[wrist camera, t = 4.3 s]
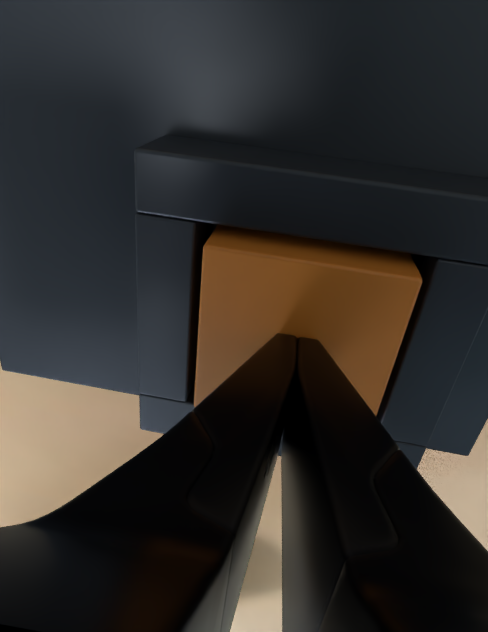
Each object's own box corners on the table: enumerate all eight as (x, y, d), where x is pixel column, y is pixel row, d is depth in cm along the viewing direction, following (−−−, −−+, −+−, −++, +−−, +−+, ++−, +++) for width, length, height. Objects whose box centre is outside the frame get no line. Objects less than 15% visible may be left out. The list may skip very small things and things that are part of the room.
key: (405, 239, 9) (425, 279, 8) (361, 384, 12) (368, 441, 10) (223, 212, 10) (202, 244, 8) (211, 357, 12) (192, 409, 10)
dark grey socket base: (638, -14, 9) (842, -64, 5) (449, 405, 14) (489, 513, 11) (-25, -80, 10) (-211, -157, 6) (40, 333, 15) (-40, 410, 12)
